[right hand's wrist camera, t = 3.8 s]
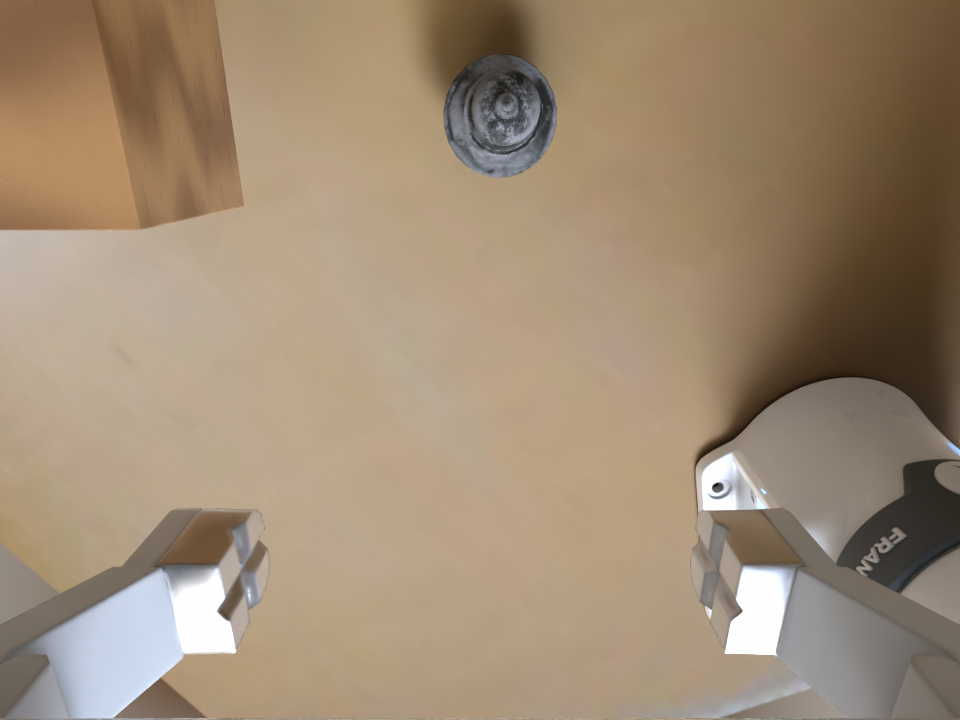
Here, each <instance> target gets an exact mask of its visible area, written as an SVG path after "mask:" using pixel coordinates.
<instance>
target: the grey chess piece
mask: <svg viewBox="0 0 960 720" xmlns="http://www.w3.org/2000/svg"><path fill="white" fill-rule="evenodd" d="M556 122H557V107H556V103H555V98H554V93H553V91H552V89H551V87H550V85H549V83H548V81H547V79H546V78H545V77H544V76H543V74H542V73H541V72H540V71H539V70H538V69H537V68H536V67H535V66H534V65H532V64H530V63H529V62H527V61H526V60H524V59H523V58H519V57H516V56H512V55H508V54H496V55H489V56H486V57H483V58H480V59H477V60H476V61H474V62H473V63H471V64H470V65H468V66H467V67H465V68H464V69H463V70H462V72H461V73H460V74H459V75H458V76H457V77H456V79H455V80H454V81H453V83H452V86H451V88H450V90H449V92H448V94H447V97H446V102H445V107H444V128H445V132H446V135H447V139H448V142H449V144H450V146H451V147H452V149H453V151H454V153H455V154H456V156H457V157H458V158H459V159H460V160H461V161H462V162H463V163H464V164H465V165H466V166H467V167H469V168H470V169H472V170H474V171H476V172H477V173H479V174H482V175H486V176H490V177H510V176H513V175H516V174H520V173H522V172H524V171H525V170H527V169H529V168H530V167H532V166H533V165H535V164H536V163H537V162H538V160H539V159H540V158H541V157H542V156H543V155H544V154H545V152H546V151H547V149H548V147H549V145H550V143H551V142H552V139H553V136H554V132H555V128H556Z"/></svg>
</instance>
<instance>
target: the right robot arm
mask: <svg viewBox="0 0 960 720" xmlns="http://www.w3.org/2000/svg"><path fill="white" fill-rule="evenodd" d="M717 482H720V483H719V485H717V486H716V487H712V486H713V484H715V483H717ZM696 487H697V502H698V517H697V522H696V528H695V529H696V531H697V533H698V534H699V536H700V541H699V542H698V543H697V544H696V545H695V547H694V548H693V549H692V554H691V562H690V567H691V578H692V582H693V586H694V589H695V592H696V594H697V596H698V598H699V601H700V602H701V603H702V604H704V605H705V610H706V613H707V615H708V616H709V618H710V623H711V625H712V627H713V629H714V631H715V633H716V635H717V637H718V639H719V641H720V643H721V645H722V647H723V649H724V651H725V653H743V654H773V655H775V656H776V657H777V658H778V659H779V660H780V661H781V662H783V663H784V664H785V665H786V666H787V667H788V668H790V669H791V670H792V671H793V672H794V673H795V674H797V675H798V676H799V677H800V678H801V679H802V680H804V681H805V682H806V683H807V684H808V685H809V686H811V687H812V688H813V689H814V690H815V691H817V692H818V693H819V694H820V695H821V696H822V697H824V698H825V699H826V700H827V701H828V702H829V703H831V704H832V705H833V706H834V707H835V708H836V709H838V710H839V711H840V712H841V713H842V714H843V715H845V716H846V717H847V718H113V717H114V716H116V715H117V714H118V713H119V712H120V711H121V710H123V709H124V708H125V707H126V706H127V705H128V704H129V703H131V702H132V701H133V700H134V699H136V698H137V697H138V696H139V695H140V694H141V693H143V692H144V691H145V690H146V689H147V688H148V687H150V686H151V685H152V684H153V683H154V682H155V681H156V680H158V679H159V678H160V677H161V676H162V675H164V674H165V673H166V672H167V671H168V670H169V669H171V668H172V667H173V666H174V665H175V664H176V663H178V662H179V661H180V660H181V659H182V658H184V655H183V654H215V653H235V651H236V649H237V647H238V645H239V643H240V641H241V639H242V637H243V635H244V633H245V631H246V629H247V627H248V625H249V623H250V618H249V612H248V610H249V609H251V608H252V607H254V606H255V605H256V604H258V603H259V602H260V601H261V598H262V596H263V594H264V592H265V590H266V586H267V581H268V577H269V561H270V560H269V553H268V549H267V548H266V547H265V546H264V544H263V543H262V542H261V541H260V540H259V538H260V536H261V534H262V533H263V531H264V529H265V528H264V523H263V518H262V514H261V513H260V512H259V511H258V510H255V509H209V508H205V509H201V508H178V509H175V510H172V511H170V512H169V513H168V514H167V516H166V517H165V518H164V519H163V520H162V521H161V522H160V524H159V525H158V526H157V527H156V528H155V529H154V530H153V532H152V533H151V534H150V535H149V536H148V537H147V538H146V540H145V541H144V542H143V543H142V544H141V545H140V546H139V548H138V549H137V550H136V551H135V552H134V553H133V554H132V556H131V557H130V558H129V559H128V560H127V561H126V562H125V564H124V565H123V566H122V567H112V568H110V569H108V570H106V571H104V572H102V573H100V574H98V575H96V576H94V577H92V578H90V579H88V580H86V581H84V582H82V583H80V584H78V585H77V586H75V587H73V588H71V589H69V590H67V591H65V592H63V593H61V594H59V595H57V596H55V597H53V598H51V599H49V600H47V601H45V602H44V603H42V604H40V605H38V606H36V607H34V608H32V609H30V610H28V611H26V612H24V613H22V614H20V615H18V616H16V617H14V618H12V619H10V620H9V621H7V622H5V623H3V624H1V625H0V720H960V449H958V448H957V447H956V446H955V445H954V444H952V443H951V442H950V441H949V440H948V439H947V438H946V437H945V436H944V435H943V434H942V433H941V432H940V431H939V430H938V429H937V428H936V427H935V426H934V425H933V424H932V423H931V422H930V421H929V420H928V418H927V417H926V416H925V415H924V414H923V412H922V411H921V410H920V408H919V407H918V406H917V405H916V403H915V402H914V401H913V400H912V399H911V398H910V397H908V396H907V395H906V394H905V393H903V392H902V391H900V390H899V389H897V388H895V387H893V386H891V385H889V384H886V383H883V382H880V381H876V380H872V379H867V378H855V377H847V378H835V379H828V380H824V381H819V382H816V383H812V384H809V385H807V386H804V387H801V388H799V389H797V390H794V391H792V392H790V393H788V394H787V395H785V396H783V397H781V398H780V399H778V400H777V401H775V402H774V403H772V404H771V405H770V406H768V407H767V408H766V409H765V410H763V411H762V412H761V413H760V414H759V415H758V416H757V417H756V418H755V419H754V420H753V421H752V422H751V423H750V424H749V425H748V426H747V427H746V428H745V429H744V430H743V432H742V433H740V434H739V435H738V436H737V437H736V438H735V439H734V440H732V441H730V442H728V443H726V444H724V445H722V446H720V447H719V448H717V449H715V450H713V451H711V452H710V453H708V454H707V455H705V456H704V457H703V458H701V460H700V461H699V462H698V464H697V466H696Z"/></svg>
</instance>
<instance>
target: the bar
mask: <svg viewBox="0 0 960 720" xmlns="http://www.w3.org/2000/svg"><path fill="white" fill-rule="evenodd" d="M242 206H244V203H243V196H242V189H241V182H240V175H239V168H238V161H237V155H236V148H235V141H234V134H233V127H232V120H231V113H230V106H229V99H228V92H227V85H226V79H225V72H224V65H223V58H222V51H221V44H220V37H219V30H218V23H217V16H216V9H215V3H214V0H0V230H142V229H146V228H151V227H155V226H159V225H164V224H168V223H172V222H177V221H181V220H185V219H190V218H194V217H199V216H203V215H207V214H212V213H216V212H220V211H225V210H229V209H233V208H238V207H242Z"/></svg>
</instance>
